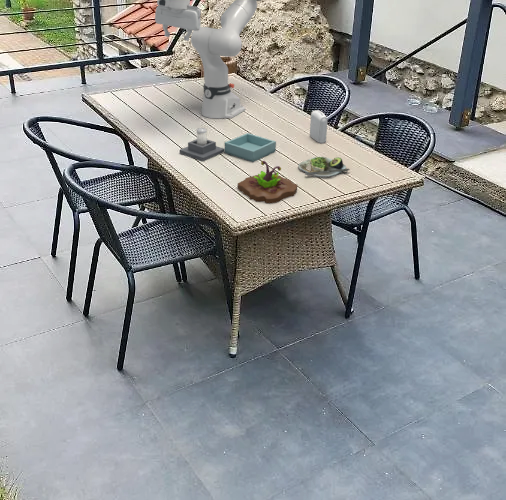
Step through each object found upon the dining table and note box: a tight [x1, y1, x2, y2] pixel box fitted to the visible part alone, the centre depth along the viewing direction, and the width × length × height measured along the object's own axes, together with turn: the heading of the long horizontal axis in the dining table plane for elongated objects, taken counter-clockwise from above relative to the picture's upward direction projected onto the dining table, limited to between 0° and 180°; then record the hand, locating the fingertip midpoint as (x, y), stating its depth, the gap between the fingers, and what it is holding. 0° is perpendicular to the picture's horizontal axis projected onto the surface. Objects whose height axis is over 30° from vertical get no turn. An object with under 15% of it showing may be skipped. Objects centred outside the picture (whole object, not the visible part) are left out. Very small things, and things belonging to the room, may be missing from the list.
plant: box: [237, 160, 298, 205], centre depth 236 cm, size 20×20×11 cm
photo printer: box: [309, 109, 328, 144], centre depth 282 cm, size 10×4×12 cm, turn 20°
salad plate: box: [297, 156, 350, 178], centre depth 255 cm, size 19×18×5 cm
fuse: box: [196, 127, 208, 146], centre depth 266 cm, size 4×4×10 cm
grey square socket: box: [179, 138, 225, 162], centre depth 268 cm, size 13×13×4 cm
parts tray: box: [224, 132, 277, 163], centre depth 269 cm, size 15×15×4 cm
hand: (176, 38), depth 272 cm, fingers open, 8 cm apart
